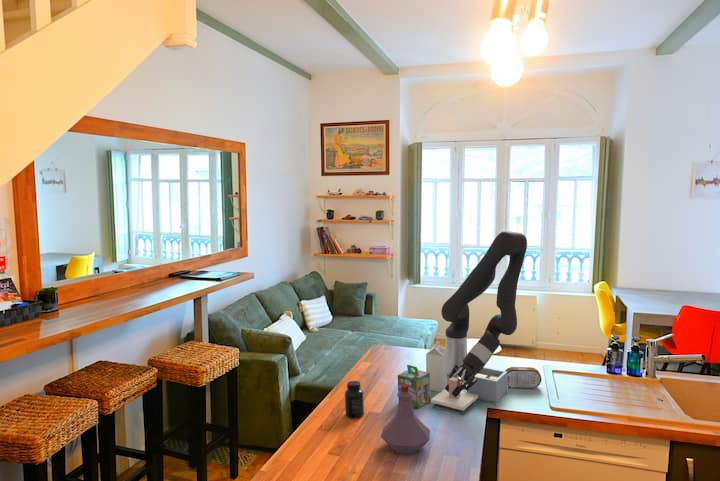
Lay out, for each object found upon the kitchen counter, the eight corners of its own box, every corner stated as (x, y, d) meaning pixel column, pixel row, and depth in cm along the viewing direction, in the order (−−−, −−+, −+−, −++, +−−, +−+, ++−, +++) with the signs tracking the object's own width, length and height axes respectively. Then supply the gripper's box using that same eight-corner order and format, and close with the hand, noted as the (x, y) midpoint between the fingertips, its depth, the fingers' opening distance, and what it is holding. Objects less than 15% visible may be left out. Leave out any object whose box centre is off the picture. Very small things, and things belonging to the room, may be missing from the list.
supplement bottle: (366, 411, 179) (365, 380, 178) (360, 420, 173) (359, 387, 172) (349, 409, 181) (348, 378, 180) (342, 417, 175) (341, 385, 174)
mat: (432, 407, 182) (432, 405, 182) (447, 396, 191) (446, 394, 191) (462, 415, 175) (462, 413, 174) (475, 403, 184) (475, 401, 184)
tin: (540, 386, 198) (540, 366, 198) (542, 389, 195) (542, 369, 195) (502, 386, 200) (502, 366, 199) (504, 389, 197) (504, 369, 196)
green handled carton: (431, 401, 186) (430, 364, 185) (416, 409, 180) (416, 371, 178) (411, 395, 193) (411, 359, 191) (397, 403, 186) (396, 365, 185)
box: (466, 397, 190) (466, 375, 189) (478, 387, 199) (478, 365, 198) (496, 404, 182) (496, 381, 182) (507, 393, 192) (507, 371, 191)
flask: (439, 456, 148) (439, 393, 146) (387, 463, 144) (386, 399, 142) (421, 431, 164) (421, 373, 162) (374, 437, 160) (373, 378, 158)
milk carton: (426, 390, 197) (425, 344, 196) (430, 383, 204) (429, 339, 202) (443, 392, 195) (443, 346, 193) (447, 385, 201) (446, 341, 200)
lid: (431, 402, 181) (430, 381, 181) (446, 390, 192) (446, 370, 191) (463, 410, 174) (463, 388, 173) (477, 397, 184) (477, 377, 183)
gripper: (461, 346, 190) (434, 380, 187) (482, 357, 177) (453, 394, 174) (473, 357, 192) (446, 391, 190) (494, 369, 179) (466, 406, 176)
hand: (450, 393), depth 182 cm, fingers closed on lid, 4 cm apart
